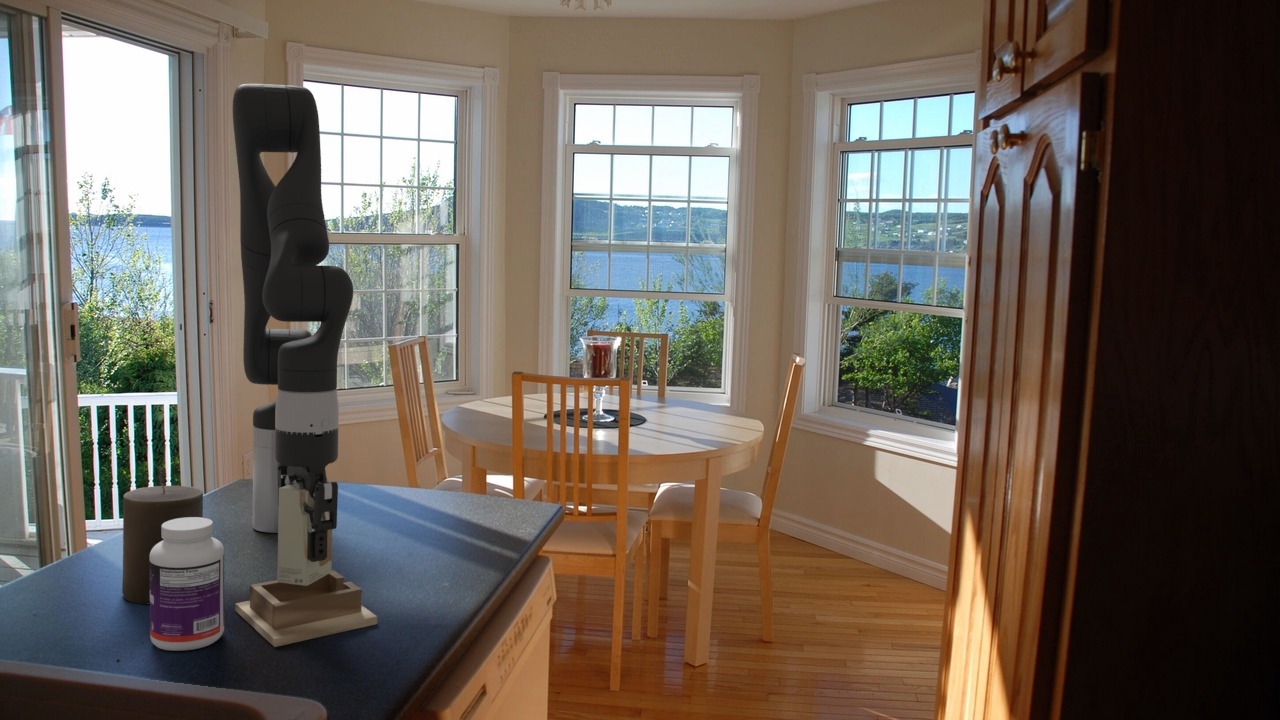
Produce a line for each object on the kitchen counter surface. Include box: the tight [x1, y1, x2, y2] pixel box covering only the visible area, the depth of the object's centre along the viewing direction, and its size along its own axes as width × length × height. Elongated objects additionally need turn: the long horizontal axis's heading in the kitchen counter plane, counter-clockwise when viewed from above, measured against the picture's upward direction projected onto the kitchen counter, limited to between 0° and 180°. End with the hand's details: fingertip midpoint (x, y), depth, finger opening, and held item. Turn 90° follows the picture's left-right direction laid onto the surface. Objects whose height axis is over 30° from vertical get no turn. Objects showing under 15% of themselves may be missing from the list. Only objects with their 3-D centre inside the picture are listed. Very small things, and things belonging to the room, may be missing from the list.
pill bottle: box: [149, 517, 225, 652], centre depth 115 cm, size 8×8×14 cm
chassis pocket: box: [234, 569, 378, 648], centre depth 124 cm, size 14×13×4 cm
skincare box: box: [276, 480, 333, 586], centre depth 123 cm, size 6×4×12 cm
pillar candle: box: [121, 483, 204, 605], centre depth 130 cm, size 10×10×15 cm
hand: (305, 552), depth 124 cm, fingers closed on skincare box, 7 cm apart
